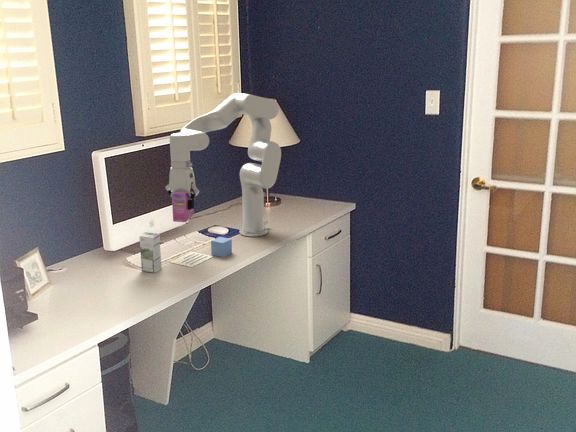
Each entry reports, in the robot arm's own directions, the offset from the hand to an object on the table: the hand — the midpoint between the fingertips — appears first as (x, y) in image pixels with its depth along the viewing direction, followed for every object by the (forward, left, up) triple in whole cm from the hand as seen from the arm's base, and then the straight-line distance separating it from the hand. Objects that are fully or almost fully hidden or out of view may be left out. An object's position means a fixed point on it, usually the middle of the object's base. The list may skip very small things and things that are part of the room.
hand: (183, 207), depth 271 cm
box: (0, 0, -5) cm, 5 cm away
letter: (+6, +8, -19) cm, 21 cm away
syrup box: (+23, +2, -19) cm, 30 cm away
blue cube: (-6, +14, -19) cm, 25 cm away
